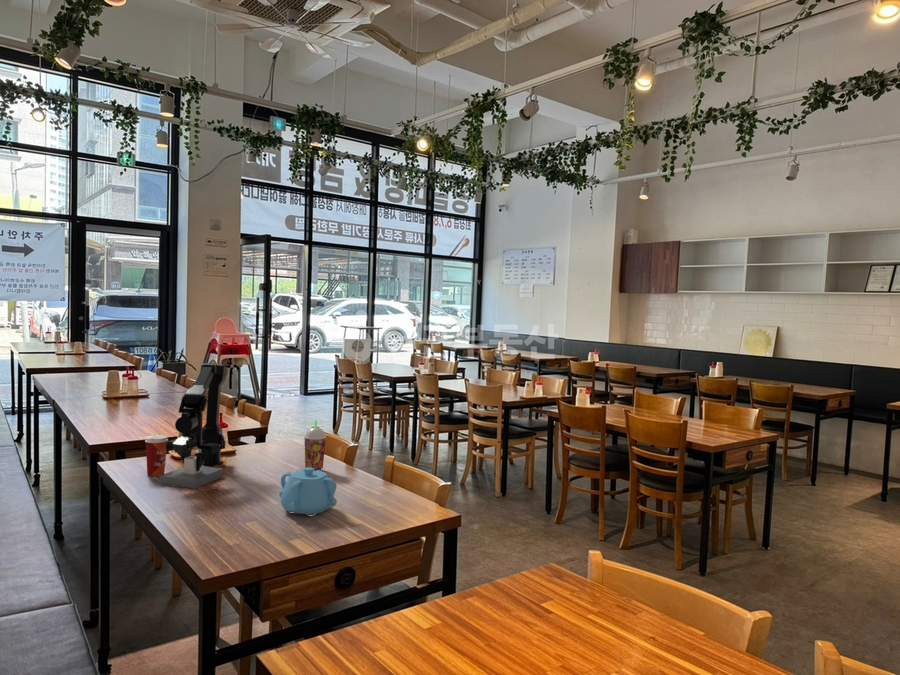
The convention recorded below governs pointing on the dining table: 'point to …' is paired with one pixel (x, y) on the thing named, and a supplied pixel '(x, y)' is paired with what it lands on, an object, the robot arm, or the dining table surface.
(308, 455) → the smoothie
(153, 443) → the paper cup
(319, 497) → the decorative pot
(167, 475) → the socket plate
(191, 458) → the block
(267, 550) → the dining table surface
